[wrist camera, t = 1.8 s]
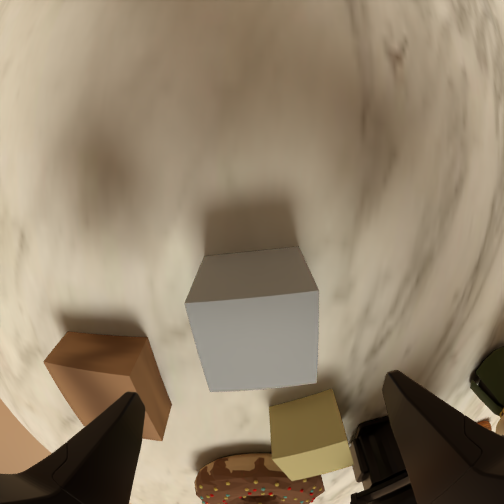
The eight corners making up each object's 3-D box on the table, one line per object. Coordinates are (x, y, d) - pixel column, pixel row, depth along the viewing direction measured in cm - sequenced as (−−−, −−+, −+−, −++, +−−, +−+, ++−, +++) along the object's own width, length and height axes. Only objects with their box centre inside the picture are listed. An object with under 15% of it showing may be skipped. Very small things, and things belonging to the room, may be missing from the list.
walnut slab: (149, 335, 17) (129, 376, 13) (172, 402, 19) (162, 441, 16) (69, 329, 17) (43, 361, 13) (99, 393, 20) (84, 425, 16)
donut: (194, 483, 26) (190, 513, 21) (200, 437, 21) (194, 482, 17) (301, 489, 27) (304, 519, 22) (343, 445, 22) (353, 484, 17)
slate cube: (298, 245, 15) (318, 290, 10) (301, 323, 16) (316, 383, 12) (204, 255, 15) (184, 303, 10) (219, 331, 17) (209, 391, 12)
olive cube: (332, 387, 19) (346, 440, 14) (341, 419, 20) (354, 464, 16) (268, 406, 19) (271, 459, 15) (287, 435, 21) (291, 481, 16)
